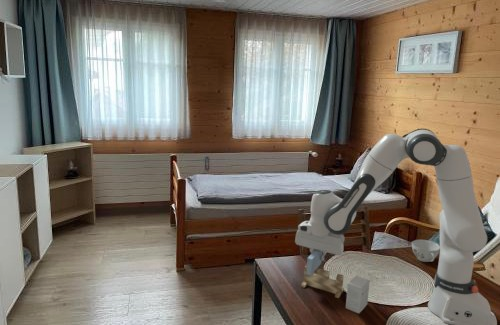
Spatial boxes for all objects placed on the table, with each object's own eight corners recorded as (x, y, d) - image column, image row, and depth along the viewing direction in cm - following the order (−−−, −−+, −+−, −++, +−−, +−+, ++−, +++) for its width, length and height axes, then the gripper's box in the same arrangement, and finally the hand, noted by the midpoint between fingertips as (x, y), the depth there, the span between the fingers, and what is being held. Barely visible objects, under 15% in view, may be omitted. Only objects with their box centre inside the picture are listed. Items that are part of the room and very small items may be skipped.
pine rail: (343, 290, 154) (345, 272, 152) (338, 298, 148) (340, 280, 147) (307, 279, 162) (308, 262, 160) (301, 286, 156) (302, 269, 154)
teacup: (406, 253, 189) (407, 238, 188) (431, 254, 189) (433, 239, 187) (418, 267, 175) (420, 252, 173) (445, 268, 174) (447, 252, 173)
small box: (354, 299, 148) (356, 274, 146) (367, 304, 145) (370, 279, 142) (345, 308, 142) (347, 283, 140) (359, 314, 138) (361, 288, 136)
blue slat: (316, 262, 161) (317, 247, 159) (321, 263, 160) (322, 248, 158) (306, 274, 151) (307, 258, 149) (311, 275, 150) (312, 259, 148)
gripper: (347, 231, 153) (344, 262, 156) (300, 220, 163) (298, 250, 166) (342, 236, 148) (339, 268, 150) (294, 225, 157) (292, 255, 160)
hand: (317, 258), depth 158 cm, fingers closed on blue slat, 2 cm apart
